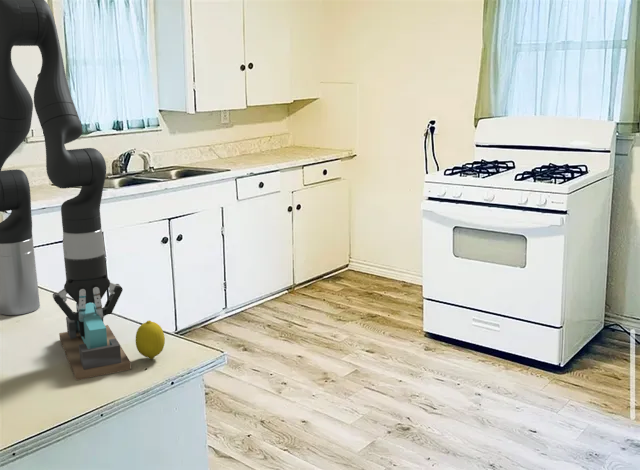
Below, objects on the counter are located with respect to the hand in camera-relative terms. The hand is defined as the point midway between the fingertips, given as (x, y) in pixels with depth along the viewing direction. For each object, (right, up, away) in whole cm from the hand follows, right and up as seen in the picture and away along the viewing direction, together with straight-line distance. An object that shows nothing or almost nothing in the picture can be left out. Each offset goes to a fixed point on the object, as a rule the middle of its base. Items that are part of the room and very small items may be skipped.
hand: (91, 336), depth 136 cm
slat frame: (0, -4, +1) cm, 4 cm away
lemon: (+12, -4, -2) cm, 13 cm away
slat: (0, -1, +1) cm, 1 cm away
